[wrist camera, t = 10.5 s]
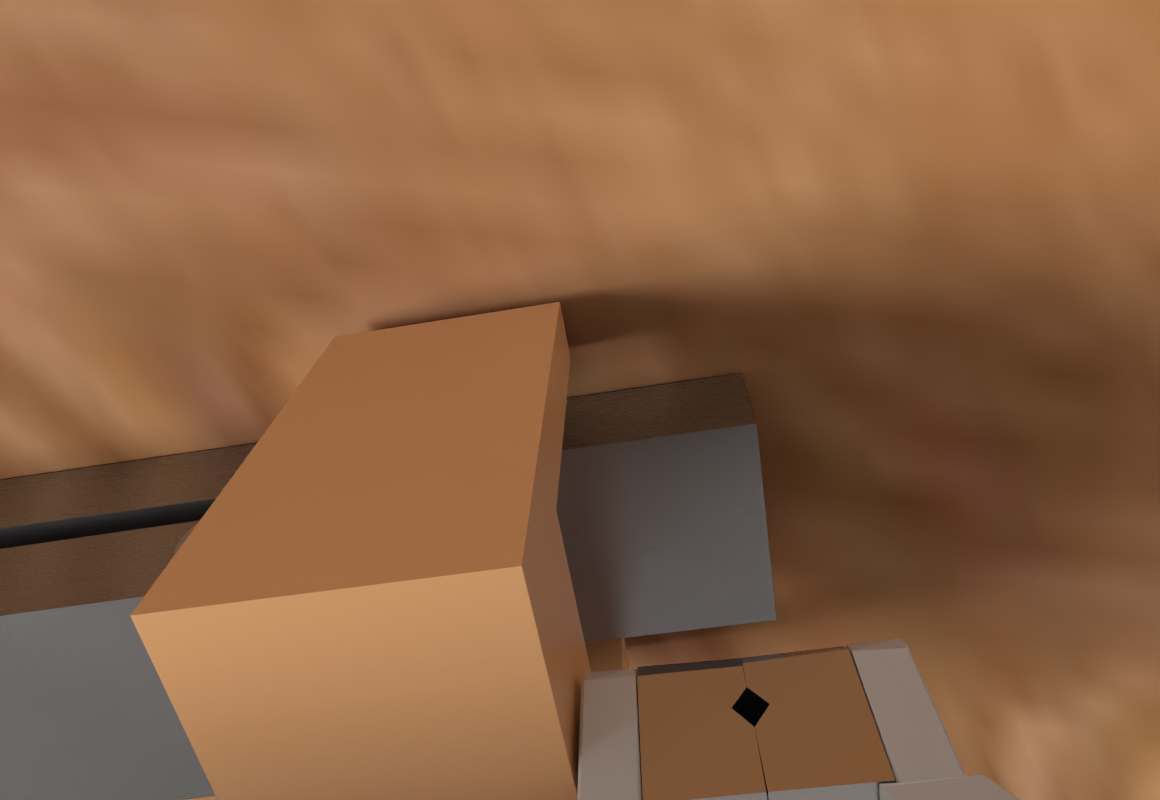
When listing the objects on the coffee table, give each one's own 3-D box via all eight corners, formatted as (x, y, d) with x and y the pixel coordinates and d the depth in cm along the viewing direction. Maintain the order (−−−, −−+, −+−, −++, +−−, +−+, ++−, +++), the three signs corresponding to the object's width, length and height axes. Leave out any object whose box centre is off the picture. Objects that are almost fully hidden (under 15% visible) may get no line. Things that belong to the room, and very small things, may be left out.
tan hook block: (559, 302, 12) (521, 565, 7) (628, 663, 14) (640, 1058, 9) (335, 336, 12) (130, 615, 7) (442, 684, 15) (350, 1079, 9)
